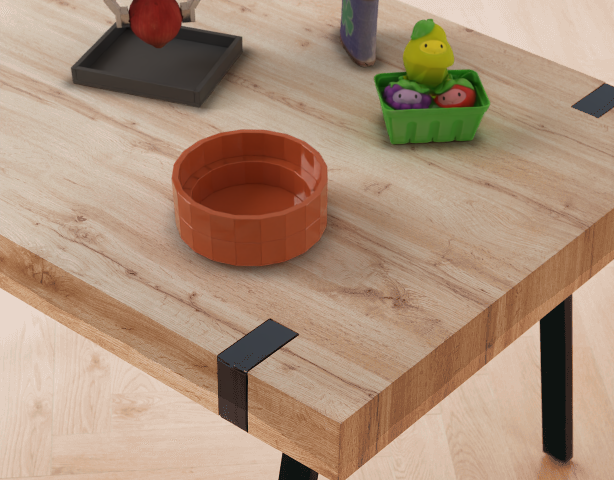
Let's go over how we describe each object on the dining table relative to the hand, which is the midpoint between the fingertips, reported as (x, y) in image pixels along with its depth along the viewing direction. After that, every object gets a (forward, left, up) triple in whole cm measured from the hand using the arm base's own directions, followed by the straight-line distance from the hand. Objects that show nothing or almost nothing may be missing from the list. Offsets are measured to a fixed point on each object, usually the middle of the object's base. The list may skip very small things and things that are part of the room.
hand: (156, 22), depth 120 cm
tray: (0, 0, -6) cm, 6 cm away
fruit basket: (+32, -2, -6) cm, 33 cm away
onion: (0, 0, -3) cm, 3 cm away
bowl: (+20, -24, -6) cm, 32 cm away
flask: (+20, +12, -6) cm, 24 cm away
